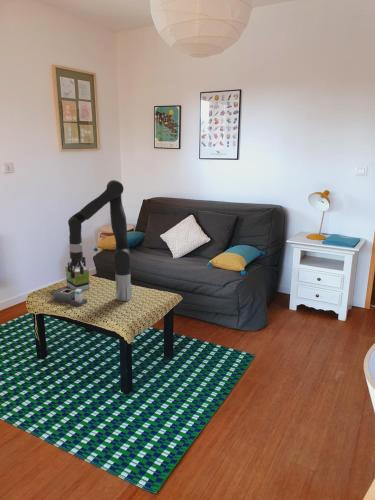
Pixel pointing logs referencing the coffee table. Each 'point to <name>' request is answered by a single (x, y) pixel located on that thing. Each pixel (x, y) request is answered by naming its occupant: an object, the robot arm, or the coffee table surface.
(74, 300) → the gray square frame
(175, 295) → the coffee table surface
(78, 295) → the plug
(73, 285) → the tea box
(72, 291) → the port
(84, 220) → the robot arm
